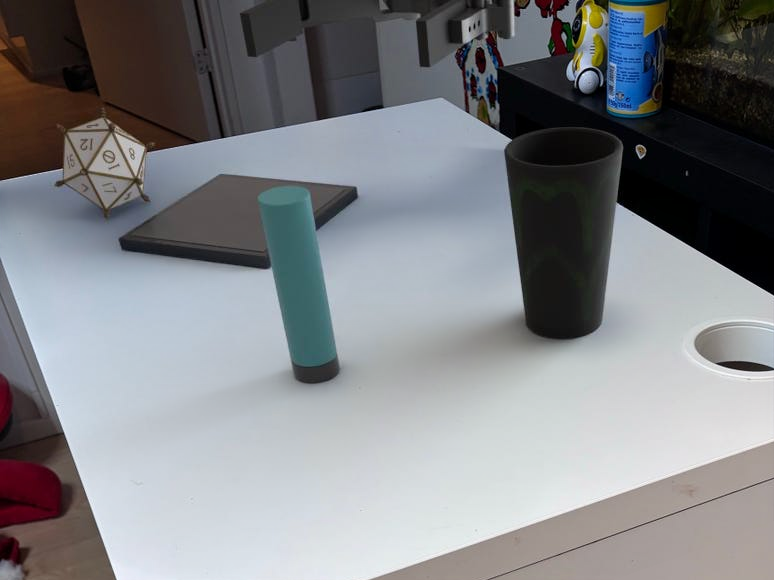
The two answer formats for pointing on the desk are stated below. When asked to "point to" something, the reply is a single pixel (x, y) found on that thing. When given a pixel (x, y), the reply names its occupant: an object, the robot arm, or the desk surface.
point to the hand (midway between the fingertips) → (332, 39)
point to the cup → (563, 225)
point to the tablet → (227, 220)
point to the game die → (104, 163)
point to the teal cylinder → (299, 282)
